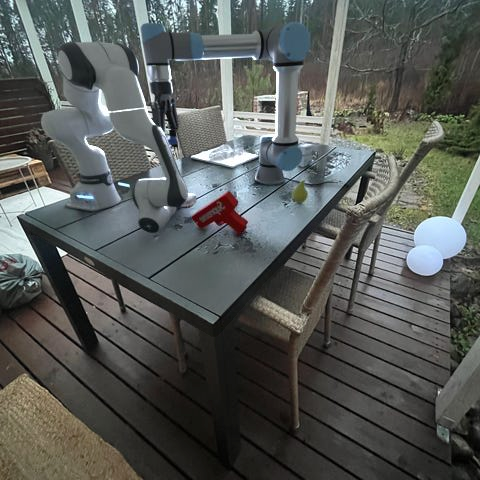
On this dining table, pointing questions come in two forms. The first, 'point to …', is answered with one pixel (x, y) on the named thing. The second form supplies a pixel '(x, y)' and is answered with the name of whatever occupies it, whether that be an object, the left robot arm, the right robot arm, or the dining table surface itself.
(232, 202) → the toy gun
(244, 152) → the relief map
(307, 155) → the ink box
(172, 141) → the lid
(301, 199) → the fruit
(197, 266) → the dining table surface
